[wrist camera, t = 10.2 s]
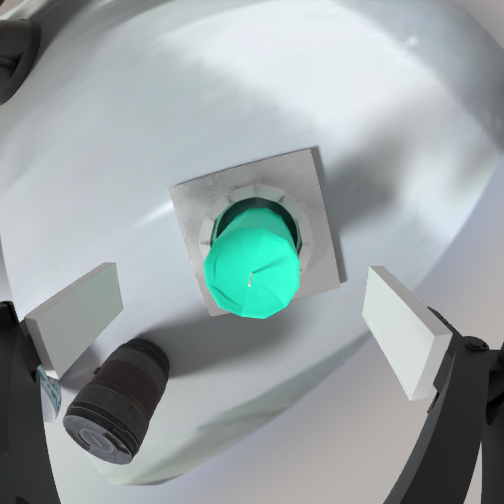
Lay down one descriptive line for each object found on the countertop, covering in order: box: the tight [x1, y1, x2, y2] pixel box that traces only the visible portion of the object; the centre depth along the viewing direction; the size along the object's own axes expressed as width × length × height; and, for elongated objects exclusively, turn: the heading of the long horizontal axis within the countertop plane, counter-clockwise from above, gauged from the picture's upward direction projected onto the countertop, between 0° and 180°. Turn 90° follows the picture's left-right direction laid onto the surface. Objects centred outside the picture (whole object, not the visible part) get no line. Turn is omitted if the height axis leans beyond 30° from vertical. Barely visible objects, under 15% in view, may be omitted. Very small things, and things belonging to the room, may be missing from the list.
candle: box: [203, 208, 300, 319], centre depth 21 cm, size 6×6×12 cm
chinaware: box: [37, 364, 61, 423], centre depth 32 cm, size 15×15×8 cm
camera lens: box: [63, 339, 169, 465], centre depth 26 cm, size 8×8×15 cm
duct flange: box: [169, 149, 341, 317], centre depth 27 cm, size 14×14×3 cm
